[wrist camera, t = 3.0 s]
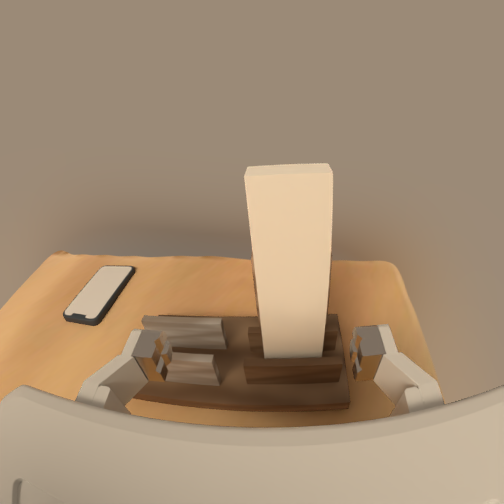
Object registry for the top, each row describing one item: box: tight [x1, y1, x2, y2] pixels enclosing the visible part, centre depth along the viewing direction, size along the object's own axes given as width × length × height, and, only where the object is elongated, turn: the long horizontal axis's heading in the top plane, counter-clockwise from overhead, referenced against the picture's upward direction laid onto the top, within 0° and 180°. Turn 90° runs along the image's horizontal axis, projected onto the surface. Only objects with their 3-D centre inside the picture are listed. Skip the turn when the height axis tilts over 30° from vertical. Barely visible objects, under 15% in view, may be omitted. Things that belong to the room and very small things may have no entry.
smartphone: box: [63, 266, 135, 326], centre depth 49 cm, size 9×2×16 cm
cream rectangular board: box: [244, 163, 333, 359], centre depth 26 cm, size 2×6×22 cm, turn 85°
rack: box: [133, 314, 350, 412], centre depth 33 cm, size 14×25×6 cm, turn 85°
